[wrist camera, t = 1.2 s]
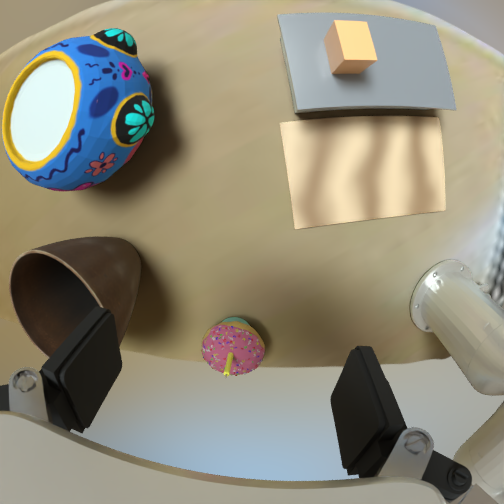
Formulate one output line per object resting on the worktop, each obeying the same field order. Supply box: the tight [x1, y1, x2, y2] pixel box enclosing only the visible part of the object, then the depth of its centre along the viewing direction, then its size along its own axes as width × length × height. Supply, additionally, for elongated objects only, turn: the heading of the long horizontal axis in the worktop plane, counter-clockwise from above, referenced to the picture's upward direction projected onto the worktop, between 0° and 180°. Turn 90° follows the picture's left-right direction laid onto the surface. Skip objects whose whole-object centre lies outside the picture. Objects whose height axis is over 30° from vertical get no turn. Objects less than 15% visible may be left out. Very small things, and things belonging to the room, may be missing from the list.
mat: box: [279, 116, 445, 229], centre depth 32 cm, size 22×13×1 cm, turn 99°
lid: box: [277, 13, 456, 111], centre depth 20 cm, size 19×11×7 cm, turn 99°
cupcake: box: [201, 317, 265, 378], centre depth 35 cm, size 9×8×12 cm
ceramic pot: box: [2, 28, 155, 191], centre depth 24 cm, size 18×18×15 cm
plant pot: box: [9, 237, 141, 359], centre depth 30 cm, size 15×15×16 cm
